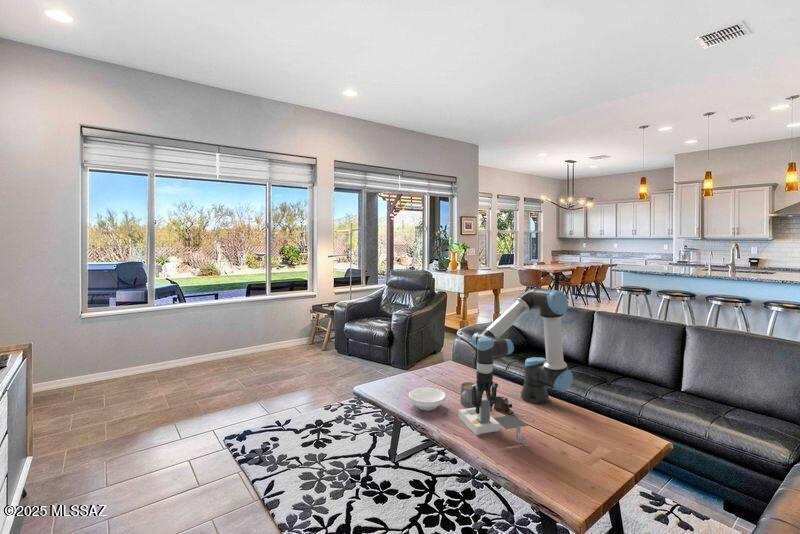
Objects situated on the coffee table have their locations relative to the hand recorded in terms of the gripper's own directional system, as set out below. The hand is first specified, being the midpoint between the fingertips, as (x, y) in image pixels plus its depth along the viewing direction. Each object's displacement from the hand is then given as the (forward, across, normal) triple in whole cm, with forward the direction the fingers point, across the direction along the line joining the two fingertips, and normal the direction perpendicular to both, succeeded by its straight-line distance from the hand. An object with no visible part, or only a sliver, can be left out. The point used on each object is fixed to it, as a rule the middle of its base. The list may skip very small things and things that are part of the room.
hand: (483, 419), depth 188 cm
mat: (+5, -16, -2) cm, 17 cm away
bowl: (+5, +17, -30) cm, 35 cm away
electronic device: (+5, -20, -14) cm, 25 cm away
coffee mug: (+5, -6, -28) cm, 29 cm away
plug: (+1, 0, 0) cm, 1 cm away
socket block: (+5, 0, -5) cm, 7 cm away
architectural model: (+6, -15, +16) cm, 22 cm away
